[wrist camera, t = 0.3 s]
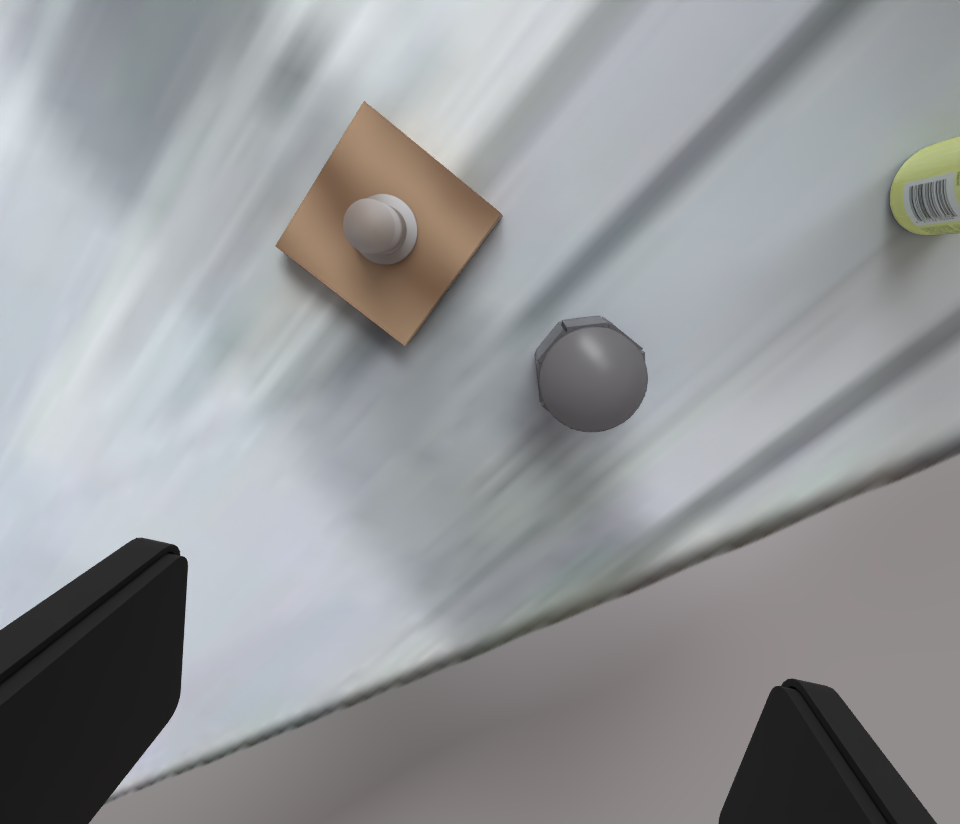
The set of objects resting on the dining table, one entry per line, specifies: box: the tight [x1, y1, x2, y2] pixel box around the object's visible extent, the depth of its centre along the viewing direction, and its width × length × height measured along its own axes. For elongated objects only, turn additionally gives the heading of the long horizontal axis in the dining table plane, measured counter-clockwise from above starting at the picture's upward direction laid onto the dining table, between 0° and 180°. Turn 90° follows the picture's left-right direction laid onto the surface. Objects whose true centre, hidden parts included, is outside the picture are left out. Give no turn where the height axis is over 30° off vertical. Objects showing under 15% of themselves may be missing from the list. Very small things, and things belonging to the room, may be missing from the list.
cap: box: [535, 316, 648, 432], centre depth 32 cm, size 6×6×5 cm
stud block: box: [276, 101, 502, 346], centre depth 31 cm, size 10×10×5 cm
